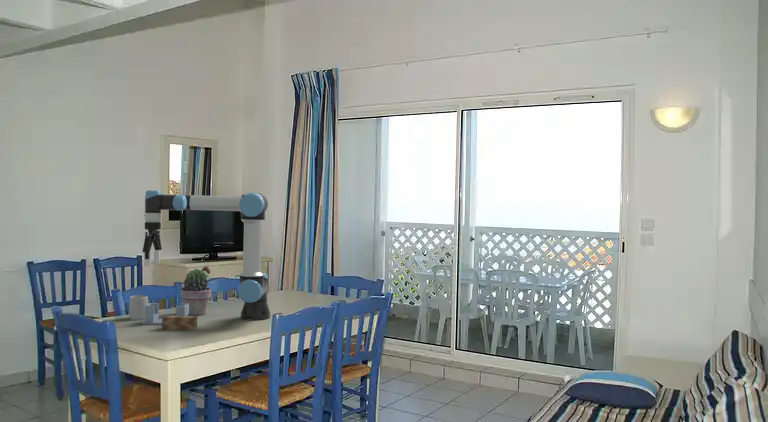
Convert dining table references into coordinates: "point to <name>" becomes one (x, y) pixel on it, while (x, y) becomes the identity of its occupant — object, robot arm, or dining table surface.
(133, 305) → the mug
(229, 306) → the dining table surface
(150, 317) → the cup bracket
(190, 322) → the tapered block
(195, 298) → the potted plant
